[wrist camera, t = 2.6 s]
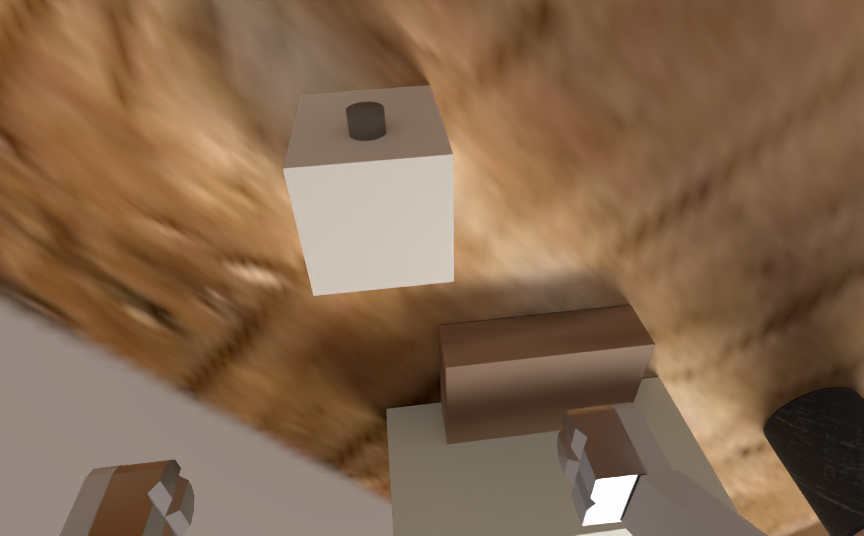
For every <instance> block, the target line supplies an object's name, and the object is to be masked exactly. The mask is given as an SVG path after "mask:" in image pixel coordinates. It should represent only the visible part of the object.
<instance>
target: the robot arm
mask: <svg viewBox="0 0 864 536" xmlns="http://www.w3.org/2000/svg"><path fill="white" fill-rule="evenodd" d="M561 422H562V425H563V429H562V430H561V431H560V432H559V433H558V439H557V450H558V457H559V461H560V465H561V468H562V471H563V474H564V476H565V477H566V478H567V479H569V480H570V481H571V482H572V483H573V484H574V486H573V490H572V494H571V497H572V500H573V502H574V505H575V508H576V511H577V513H578V516H579V519H580V522H581V525H582V526H586V525H595V524H604V523H612V522H621V521H622V522H621V524H622V525H623V526H624V527H625V528H626V529H627V530H628V531H629V532H630V533H631V534H632V535H633V536H767V535H766V534H765V533H763V532H762V531H761V530H759V529H758V528H757V527H755V526H754V525H753V524H751V523H750V522H748V521H747V520H746V519H744V518H743V517H742V516H740V515H739V514H738V513H736V512H735V511H734V510H732V509H731V508H730V507H728V506H727V505H726V504H724V503H723V502H721V501H720V500H719V499H717V498H716V497H715V496H713V495H712V494H711V493H709V492H708V491H707V490H705V489H704V488H703V487H701V486H700V485H699V484H697V483H696V482H695V481H693V480H692V479H690V478H689V477H688V476H686V475H685V474H684V473H682V472H681V471H680V470H679V471H672V469H671V467H670V465H669V463H668V461H667V460H666V458H665V456H664V454H663V452H662V450H661V449H660V447H659V445H658V443H657V441H656V439H655V438H654V436H653V434H652V432H651V430H650V428H649V427H648V425H647V423H646V421H645V419H644V417H643V416H642V414H641V412H640V410H639V408H638V407H637V406H636V405H635V404H634V403H631V402H628V403H621V404H614V405H602V406H595V407H588V408H581V409H574V410H567V411H565V412H564V413H563V414H562V418H561ZM180 469H181V468H180V466H179V465H178V463H177V462H176V461H175V460H167V461H158V462H150V463H141V464H133V465H120V466H113V467H105V468H97V469H93V470H92V471H91V472H90V473H89V475H88V476H87V477H86V478H85V480H84V483H83V485H82V487H81V489H80V491H79V493H78V496H77V498H76V500H75V503H74V505H73V507H72V509H71V511H70V514H69V516H68V518H67V521H66V523H65V525H64V527H63V529H62V531H61V534H60V536H182V535H183V533H184V532H185V531H186V530H187V529H188V528H189V527H190V524H191V521H192V516H193V512H194V493H193V489H192V486H191V484H190V482H189V481H188V480H187V479H185V478H182V477H180V476H179V473H180Z"/></svg>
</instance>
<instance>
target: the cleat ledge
mask: <svg viewBox="0 0 864 536" xmlns="http://www.w3.org/2000/svg"><path fill="white" fill-rule="evenodd" d="M654 345H655V344H654V342H653V341H652V339H651V337H650V336H649V334H648V332H647V331H646V329H645V327H644V326H643V324H642V323H641V321H640V319H639V318H638V316H637V314H636V313H635V311H634V309H633V308H632V306H631V305H626V306H617V307H608V308H598V309H589V310H580V311H570V312H561V313H552V314H542V315H533V316H523V317H514V318H505V319H495V320H486V321H477V322H467V323H458V324H449V325H439V356H440V386H441V405H442V412H443V418H444V424H445V431H446V437H447V443H448V444H455V443H463V442H471V441H479V440H487V439H495V438H503V437H511V436H519V435H527V434H536V433H544V432H552V431H560V430H562V429H563V425H562V422H561V418H562V414H563V413H564V412H565V411H567V410H574V409H581V408H588V407H595V406H602V405H614V404H621V403H628V402H631V403H634V400H635V397H636V395H637V392H638V389H639V386H640V384H641V381H642V378H643V375H644V373H645V370H646V367H647V364H648V362H649V359H650V356H651V353H652V351H653V348H654Z"/></svg>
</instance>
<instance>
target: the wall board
mask: <svg viewBox="0 0 864 536" xmlns="http://www.w3.org/2000/svg"><path fill="white" fill-rule="evenodd" d="M634 404H635V405H636V406H637V407H638V408H639V410H640V412H641V414H642V416H643V417H644V419H645V421H646V423H647V425H648V427H649V428H650V430H651V432H652V434H653V436H654V438H655V439H656V441H657V443H658V445H659V447H660V449H661V450H662V452H663V454H664V456H665V458H666V460H667V461H668V463H669V465H670V467H671V469H672V471H679V470H680V471H681V472H682V473H684V474H685V475H686V476H688V477H689V478H690V479H692V480H693V481H695V482H696V483H697V484H699V485H700V486H701V487H703V488H704V489H705V490H707V491H708V492H709V493H711V494H712V495H713V496H715V497H716V498H717V499H719V500H720V501H721V502H723V503H724V504H726V505H727V506H728V507H730V508H731V509H732V510H734V511H735V512H736V513H738V511H737V510H736V508H735V506H734V505H733V503H732V501H731V499H730V498H729V496H728V494H727V493H726V491H725V489H724V487H723V486H722V484H721V482H720V480H719V479H718V477H717V475H716V474H715V472H714V470H713V468H712V467H711V465H710V463H709V462H708V460H707V458H706V456H705V455H704V453H703V451H702V450H701V448H700V446H699V444H698V443H697V441H696V439H695V438H694V436H693V434H692V432H691V431H690V429H689V427H688V426H687V424H686V422H685V420H684V419H683V417H682V415H681V414H680V412H679V410H678V408H677V407H676V405H675V403H674V402H673V400H672V398H671V396H670V395H669V393H668V391H667V389H666V388H665V386H664V384H663V383H662V381H661V379H660V377H653V378H644V379H642V381H641V384H640V386H639V389H638V392H637V395H636V397H635V400H634ZM386 411H387V429H388V447H389V464H390V482H391V500H392V517H393V535H394V536H633V535H632V534H631V533H630V532H629V531H628V530H627V529H626V528H625V527H624V526H623V525H622V524H621V522H622V521H621V522H612V523H604V524H595V525H586V526H582V525H581V522H580V519H579V516H578V513H577V511H576V508H575V505H574V502H573V500H572V497H571V494H572V490H573V486H574V484H573V483H572V482H571V481H570V480H569V479H567V478H566V477H565V476H564V474H563V471H562V468H561V465H560V461H559V457H558V450H557V439H558V433H559V432H560V431H561V430H560V431H552V432H544V433H536V434H527V435H519V436H511V437H503V438H495V439H487V440H479V441H471V442H463V443H455V444H448V443H447V437H446V431H445V424H444V418H443V412H442V405H441V403H432V404H424V405H415V406H407V407H398V408H390V409H386Z"/></svg>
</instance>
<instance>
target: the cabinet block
mask: <svg viewBox="0 0 864 536" xmlns="http://www.w3.org/2000/svg"><path fill="white" fill-rule="evenodd" d="M283 171H284V175H285V179H286V183H287V187H288V192H289V196H290V200H291V204H292V208H293V212H294V216H295V221H296V225H297V229H298V233H299V237H300V241H301V245H302V250H303V254H304V258H305V262H306V266H307V270H308V274H309V279H310V283H311V287H312V291H313V295H314V296H317V295H327V294H336V293H346V292H356V291H366V290H376V289H386V288H396V287H405V286H415V285H425V284H435V283H445V282H454V218H453V152H452V149H451V146H450V143H449V140H448V137H447V134H446V131H445V128H444V125H443V122H442V119H441V116H440V113H439V110H438V107H437V104H436V101H435V98H434V95H433V92H432V89H431V86H430V85H424V86H410V87H396V88H383V89H369V90H356V91H342V92H328V93H315V94H301V95H300V97H299V101H298V106H297V110H296V114H295V119H294V123H293V127H292V131H291V136H290V140H289V144H288V149H287V153H286V157H285V162H284V166H283Z"/></svg>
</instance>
